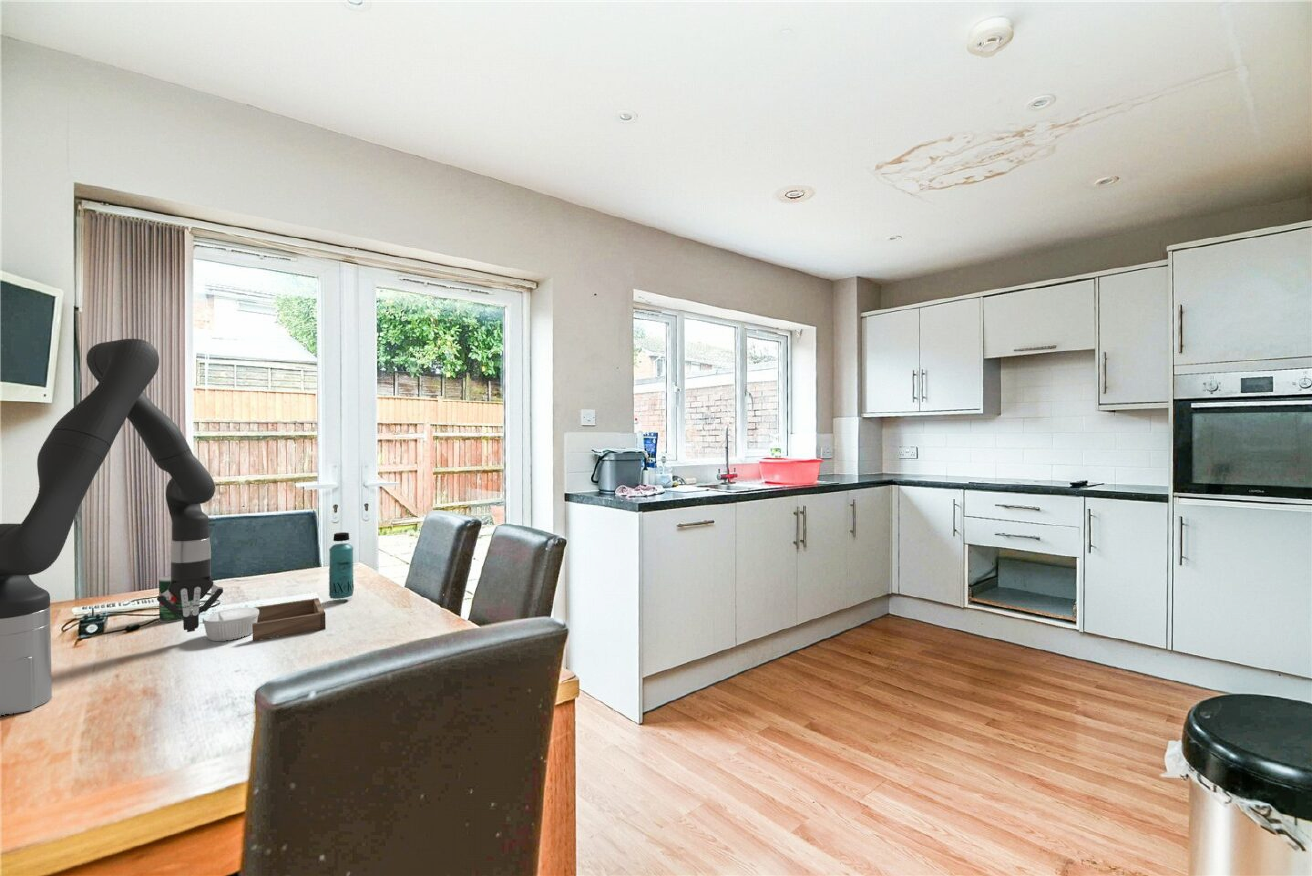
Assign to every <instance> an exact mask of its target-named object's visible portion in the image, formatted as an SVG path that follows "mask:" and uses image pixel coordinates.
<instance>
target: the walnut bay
mask: <svg viewBox="0 0 1312 876" xmlns="http://www.w3.org/2000/svg"><path fill="white" fill-rule="evenodd" d="M254 608H257V609H259V615H258V619H257V623H252V627H253V633H252V642H257V641H256V640H258V641H261V640H260V639H264V640H267V639H266V638H270V637H276V638H278V637H277V636H282V637H286V636H287V635H288V636H292V635H293V636H294V635H298V633H299V634H304V633H303V632H305V633H309V631H311V632H316V631H315V630H317V631H321V629H323V630H326V624H327V623H326V612H325V610H324V607H323V605H322V603H321V601H320V599H319V597H316V598H310V599H309V598H308V599H303V600H296V601H289V602H281V603H274V604H267V605H260V606H254ZM270 639H271V638H270Z"/></svg>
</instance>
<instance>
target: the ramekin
mask: <svg viewBox="0 0 1312 876" xmlns="http://www.w3.org/2000/svg"><path fill="white" fill-rule="evenodd" d="M254 607H255V606H254ZM254 607H253V606H252V607H249V606H246V607H234V608H233V607H232V608H227V609H223V610H222V609H221V610H218V611H215V612H212V613H210V614H207V615H205V616H204V617H203V618H202V624H204V629H205V633H206V637H207V638H208V639H209V640H210V641H213V642H227V641H226V640H228V641H232V640H233V639H234V640H237V638H238V639H242V638H245V637H248V636H250V635H253V627H252V623H257V619H258V615H259V609H257V608H254ZM244 636H245V637H244ZM241 637H242V638H241Z"/></svg>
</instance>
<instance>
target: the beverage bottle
mask: <svg viewBox="0 0 1312 876" xmlns="http://www.w3.org/2000/svg"><path fill="white" fill-rule="evenodd" d="M333 541H334V542H343V543H335V544H333V545H332V546H331V547H330V548H329V549H328V550H329V564H328V565H329V568H328V597H329V598H330V599H333V600H336V599H337V600H338V599H346V598H350V597H352V596H353V595H354V588H355V584H354V577H355V575H354V573H355V572H354V565H355V564H354V546H353V545H352V544H350V543H346V542H345V541H350V533H349V532H336V533H334V534H333ZM344 542H345V543H344Z"/></svg>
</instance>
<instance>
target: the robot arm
mask: <svg viewBox="0 0 1312 876" xmlns="http://www.w3.org/2000/svg"><path fill="white" fill-rule="evenodd" d="M85 360H86V365H87V368H88V369H89V371H90V373H91V374H92V376H93V377H94V379H95V381H97V382H98V384H97V385H96V386H95V387H94V389H93V390H91V392H90V393H88V395H86V396H85V398H83V399H82V400H80V401H79V402H78V403H77V404H76V405H75V406H73V407H72V408H71V409H70V410H69V411H67V413H66V414H64V415H63V416H62V417H61V418H60V419H59V420H58V421H57V423H55V425H54V426H53V427H52V429H51V431H50V432H49V434H48V435H47V437H46V439H45V441H44V442H43V444H42V446H41V447H40V450H39V452H38V455H37V460H36V465H37V466H36V468H37V475H38V476H37V477H38V484H39V487H38V488H39V489H38V493H37V497H36V499H35V501H34V503H33V505H32V506H31V508H30V510H29V511H28V514H26V516H25V518H24V519H23V521H22V522H21V523H0V717H2V716H1V715H4V716H6V715H5V714H9V715H13V713H14V714H18V713H24V712H29V711H33V710H34V709H35V708H37V707H39V706H41V705H43V704H45V703H47V702H49V701H51V699H52V697H53V689H52V687H53V684H52V683H53V681H52V680H53V676H52V641H51V640H52V637H51V636H52V634H51V631H52V630H51V619H52V618H51V617H52V616H51V594H50V592H49V591H48V590H46V589H44V588H42V587H40V586H38V585H37V584H36V583H35V582H34V581H33V580H32V579H31V578H30V576H34V575H37V574H40V573H42V572H44V571H47V569H49V568H50V567H52V565H53V564H54V563H55V562H56V561H57V559H58V558H59V556H60V554H61V552H62V550H63V549H64V546H65V543H66V542H67V538H68V536H69V533H70V531H71V528H72V526H73V524H74V521H75V518H76V516H77V513H78V511H79V509H80V506H81V503H82V502H83V500H84V498H85V496H86V494H87V493H88V490H89V488H90V486H91V484H92V482H93V480H94V478H95V476H96V474H97V473H98V471H99V470H100V468H101V466H102V464H103V463H104V461H105V459H106V458H107V456H108V453H109V452H110V449H111V448H112V445H113V443H114V442H115V439H116V438H117V435H118V433H119V432H120V430H121V428H122V427H123V425H124V424H125V421H126V420H128V421H129V422H130V423H131V425H132V426H133V428H134V429H135V430H136V432H137V434H138V435H139V436H140V439H141V440H142V441H143V443H144V445H145V447H146V448H147V450H148V452H149V454H150V457H151V458H152V459H153V461H154V463H155V465H156V466H157V467H158V468H159V470H162V471H164V472H166V473H167V474H168V475H169V476H170V477H171V478H170V479H169V480H168V482H167V485H166V488H165V500H166V503H167V508H168V512H169V516H170V519H171V524H172V525H171V540H172V541H171V547H170V575H171V583H170V585H169V587H168V590H167V591H165V592H164V593H163V594H160V595H159V594H158V596H157V598H156V601H157V602H158V603H159V602H160V603H161V604H162V605H163V606H164V607H166V608H167V609H168V610H169V611H170V612H171V613H173V614H174V615H180V616H183V620H182V623H183V631H186V633H191V632H196V629H198V628H199V623H200V621H199V620H200V618H199V617H200V615H201V614H202V613H204V612H208V610H209V609H210V608H211V607H212V606H213V604H214V603H215V602H216V601H217V600H218V599H219V598H220V597H221V595H222V594H223V593H224V587H221V586H218V585H216V584H214V583H215V582H214V580H213V579H212V549H211V547H212V546H211V540H210V539H211V537H210V533H211V531H210V529H211V528H210V519H209V515H207V514H206V513H205V512H203V511H202V507H201V504H205V503H207V502H209V501H210V500H212V498H213V497H214V496H215V493H216V484H215V481H214V479H213V477H212V476H211V474H210V473H209V471H208V470H207V469H206V467H204V465H203V464H202V463H201V462H200V461H199V459H198V458H197V457H196V455H194V454H193V452H192V449H191V447H190V445H189V444H188V442H187V440H186V438H185V436H184V435H183V432H182V431H181V429H180V428H179V427H178V425H177V424H176V423H175V422H174V421H173V420H172V419H171V418H170V417H169V416H167V415H166V414H165V413H164V412H163V411H162V410H160V408H159V407H157V405H155V403H153V402H152V400H150V398H149V397H148V396H147V394H146V393H145V390H146V389H147V387H148V385H149V384H150V383H151V382H152V380H153V378H154V377H155V376H156V374H157V372H158V369H159V365H160V357H159V353H158V351H157V349H156V348H155V346H154V345H152V344H151V342H148V341H146V340H144V339H141V338H140V339H139V338H122V339H117V340H111V341H106V342H99V343H97V344H95V345H93V346H91V347H90V348H89V350H88V352H87V354H86V359H85ZM210 590H211V591H210ZM209 591H210V596H209V598H208V599H207V600H206V601H205V602H204V603H203V604H202V605H200V604H201V600H202V599H204V597H206V595H207V594H208V593H209ZM170 593H171V594H172V595H173V596H174V597H175V598H176V599H177V600H178V601H180V602H182V608H183V609H180V608H179V607H178V606H177V605H175V604H174V603H173V602H172V601H171V600H170V599H171V596H170ZM189 601H193V611H192V614H190V602H189Z"/></svg>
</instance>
